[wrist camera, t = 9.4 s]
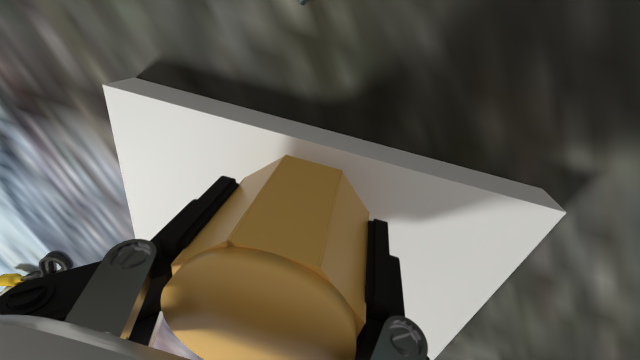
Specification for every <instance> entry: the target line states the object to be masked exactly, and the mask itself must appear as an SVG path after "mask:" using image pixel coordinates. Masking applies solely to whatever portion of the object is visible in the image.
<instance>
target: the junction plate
mask: <svg viewBox="0 0 640 360" xmlns="http://www.w3.org/2000/svg"><path fill="white" fill-rule="evenodd" d="M103 89H104V94H105V98H106V103H107V108H108V112H109V117H110V122H111V126H112V131H113V135H114V140H115V145H116V149H117V154H118V159H119V163H120V168H121V173H122V177H123V182H124V187H125V191H126V196H127V201H128V205H129V210H130V215H131V219H132V224H133V228H134V233H135V238H136V239H145V240H148V241H150V240H151V239H152V238H153V237H154V236H155V235H156V234H157V233H158V232H159V231H160V230H161V229H162V228H164V227H165V226H166V225H167V224H168V223H169V222H170V221H171V220H172V219H173V218H174V217H175V216H176V215H177V214H178V213H179V212H180V211H181V210H182V209H183V208H184V207H185V206H186V205H187V204H188V203H189V202H191V201H192V200H193V199H198V198H199V197H200V196H201V195H202V194H203V193H204V192H205V191H207V190H208V189H209V188H210V187H211V186H212V185H213V184H214V183H215V182H216V181H217V180H218V179H219V178H220V177H221V176H227V177H230V178H234V179H236V183H239V184H240V182H241V181H242V180H243V179H244V178H245V177H247V176H249V175H251V174H253V173H254V172H256V171H258V170H260V169H262V168H263V167H265V166H267V165H269V164H270V163H272V162H274V161H276V160H278V159H279V158H281V157H283V156H285V155H289V156H292V157H296V158H300V159H303V160H307V161H311V162H314V163H318V164H321V165H325V166H329V167H332V168H336V169H340V170H343V173H344V175H345V176H346V178H347V179H348V181H349V182H350V184H351V185H352V187H353V189H354V190H355V192H356V193H357V195H358V196H359V198H360V199H361V201H362V202H363V204H364V206H365V207H366V209H367V210H368V212H369V220H370V221H373V220H374V219H379V220H382V221H386V222H388V234H389V251H390V255H392V256H396V257H398V258H399V260H400V269H401V279H402V289H403V299H404V309H405V317H406V318H408V319H410V320H412V321H413V322H414V323H416V324H417V325H418V326H419V328H420V329H421V330H422V331H423V333H424V335H425V337H426V340H427V343H428V353H427V356H428V357H429V358H430V360H434V359H435V358H436V357H437V355H438V354H439V353H440V352H441V351H442V350H443V349H444V348H445V347H446V345H447V344H448V343H449V342H450V341H451V340H452V339H453V338H454V337H455V336H456V334H457V333H458V332H459V331H460V330H461V329H462V328H463V327H464V326H465V324H466V323H467V322H468V321H469V320H470V319H471V318H472V317H473V316H474V314H475V313H476V312H477V311H478V310H479V309H480V308H481V307H482V306H483V305H484V303H485V302H486V301H487V300H488V299H489V298H490V297H491V296H492V295H493V293H494V292H495V291H496V290H497V289H498V288H499V287H500V286H501V285H502V283H503V282H504V281H505V280H506V279H507V278H508V277H509V276H510V275H511V273H512V272H513V271H514V270H515V269H516V268H517V267H518V266H519V265H520V264H521V262H522V261H523V260H524V259H525V258H526V257H527V256H528V255H529V254H530V252H531V251H532V250H533V249H534V248H535V247H536V246H537V245H538V244H539V242H540V241H541V240H542V239H543V238H544V237H545V236H546V235H547V234H548V233H549V231H550V230H551V229H552V228H553V227H554V226H555V225H556V224H557V223H558V221H559V220H560V219H561V218H562V217H563V216H564V215H565V214H566V213H567V212H566V211H565V210H564V209H563V208H561V207H560V206H559V205H558V204H557V203H556V202H555V201H554V200H553V199H552V198H551V197H550V196H549V195H548V194H547V193H546V192H545V191H544V190H543V189H542V188H538V187H534V186H531V185H527V184H523V183H520V182H516V181H512V180H509V179H505V178H501V177H498V176H494V175H490V174H487V173H483V172H479V171H476V170H472V169H468V168H465V167H461V166H457V165H454V164H450V163H446V162H443V161H439V160H435V159H432V158H428V157H424V156H421V155H417V154H413V153H410V152H406V151H402V150H399V149H395V148H391V147H388V146H384V145H380V144H377V143H373V142H369V141H366V140H362V139H358V138H355V137H351V136H347V135H344V134H340V133H336V132H333V131H329V130H325V129H322V128H318V127H314V126H311V125H307V124H303V123H300V122H296V121H292V120H289V119H285V118H281V117H278V116H274V115H270V114H267V113H263V112H259V111H256V110H252V109H248V108H245V107H241V106H237V105H234V104H230V103H226V102H223V101H219V100H215V99H212V98H208V97H204V96H200V95H197V94H193V93H189V92H186V91H182V90H178V89H175V88H171V87H167V86H164V85H160V84H156V83H153V82H149V81H145V80H142V79H138V78H131V79H126V80H122V81H117V82H112V83H108V84H103Z"/></svg>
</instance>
